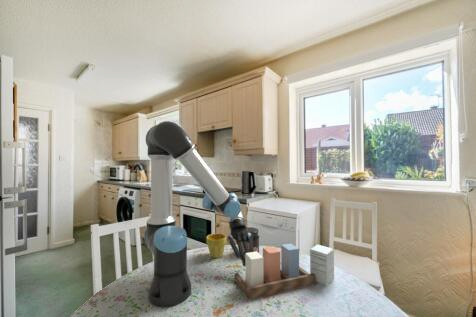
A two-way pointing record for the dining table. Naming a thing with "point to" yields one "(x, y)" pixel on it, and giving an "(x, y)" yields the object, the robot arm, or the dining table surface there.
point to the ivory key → (253, 269)
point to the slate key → (290, 260)
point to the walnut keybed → (276, 284)
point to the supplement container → (255, 239)
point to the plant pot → (216, 244)
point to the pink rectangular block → (271, 264)
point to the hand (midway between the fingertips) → (250, 273)
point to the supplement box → (322, 263)
